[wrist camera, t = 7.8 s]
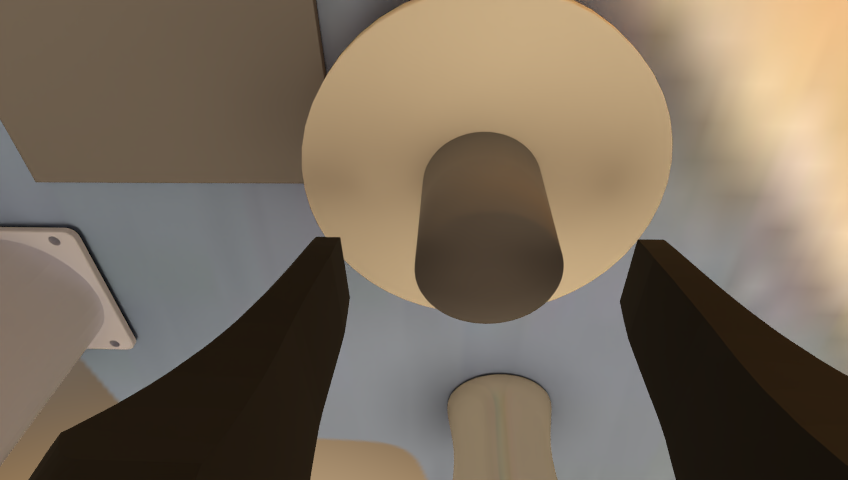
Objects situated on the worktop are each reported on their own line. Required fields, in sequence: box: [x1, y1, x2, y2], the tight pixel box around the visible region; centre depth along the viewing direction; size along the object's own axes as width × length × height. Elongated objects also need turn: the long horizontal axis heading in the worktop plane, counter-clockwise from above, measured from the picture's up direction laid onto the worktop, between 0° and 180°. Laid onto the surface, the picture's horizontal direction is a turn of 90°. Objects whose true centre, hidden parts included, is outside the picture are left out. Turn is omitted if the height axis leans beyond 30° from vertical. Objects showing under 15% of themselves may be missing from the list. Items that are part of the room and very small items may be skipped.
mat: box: [0, 0, 326, 183], centre depth 18 cm, size 13×13×1 cm
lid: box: [302, 0, 673, 324], centre depth 14 cm, size 11×11×5 cm
